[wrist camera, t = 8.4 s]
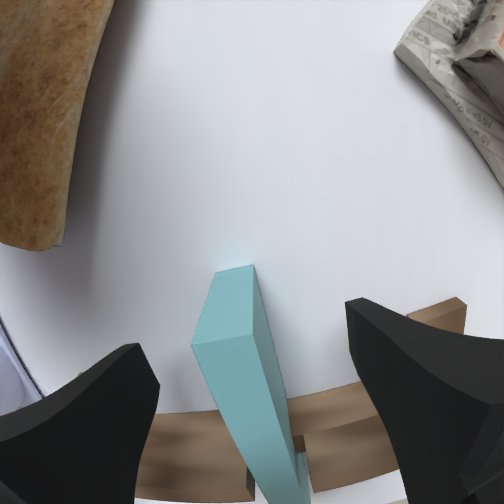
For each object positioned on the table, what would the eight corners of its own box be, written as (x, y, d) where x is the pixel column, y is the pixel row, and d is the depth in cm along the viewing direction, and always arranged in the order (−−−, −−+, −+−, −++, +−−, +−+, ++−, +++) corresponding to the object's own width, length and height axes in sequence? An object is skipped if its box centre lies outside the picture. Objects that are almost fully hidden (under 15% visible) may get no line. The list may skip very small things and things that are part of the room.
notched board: (140, 458, 15) (122, 514, 10) (79, 372, 13) (37, 432, 8) (439, 404, 14) (472, 457, 9) (456, 296, 12) (518, 347, 7)
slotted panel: (307, 476, 16) (314, 533, 11) (285, 479, 16) (290, 537, 11) (253, 264, 11) (252, 333, 7) (215, 272, 11) (190, 344, 7)
